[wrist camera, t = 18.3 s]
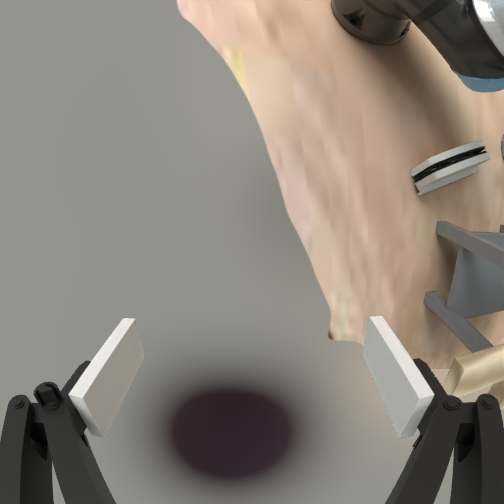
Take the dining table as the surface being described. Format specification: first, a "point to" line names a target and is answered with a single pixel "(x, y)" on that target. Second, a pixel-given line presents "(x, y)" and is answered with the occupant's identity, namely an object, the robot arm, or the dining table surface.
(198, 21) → the dining table surface
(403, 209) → the dining table surface
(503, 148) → the coffeepot
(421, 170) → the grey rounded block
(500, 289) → the side table
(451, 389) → the cutting board
